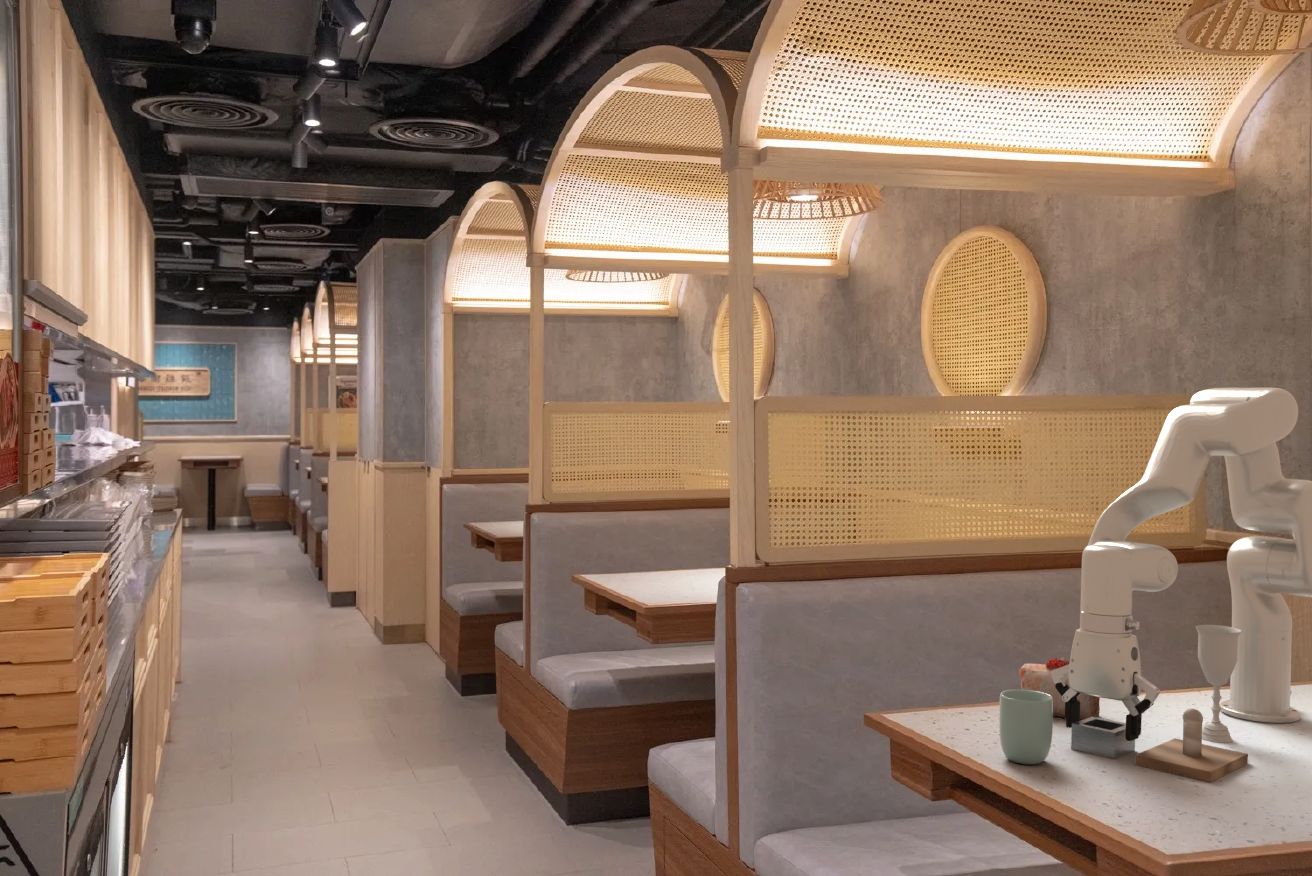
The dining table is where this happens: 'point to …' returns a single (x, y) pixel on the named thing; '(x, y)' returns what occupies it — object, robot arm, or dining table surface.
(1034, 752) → the cup
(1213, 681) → the chalice
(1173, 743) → the brown flat pegged piece
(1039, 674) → the food item
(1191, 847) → the dining table surface
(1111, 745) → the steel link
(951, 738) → the dining table surface
